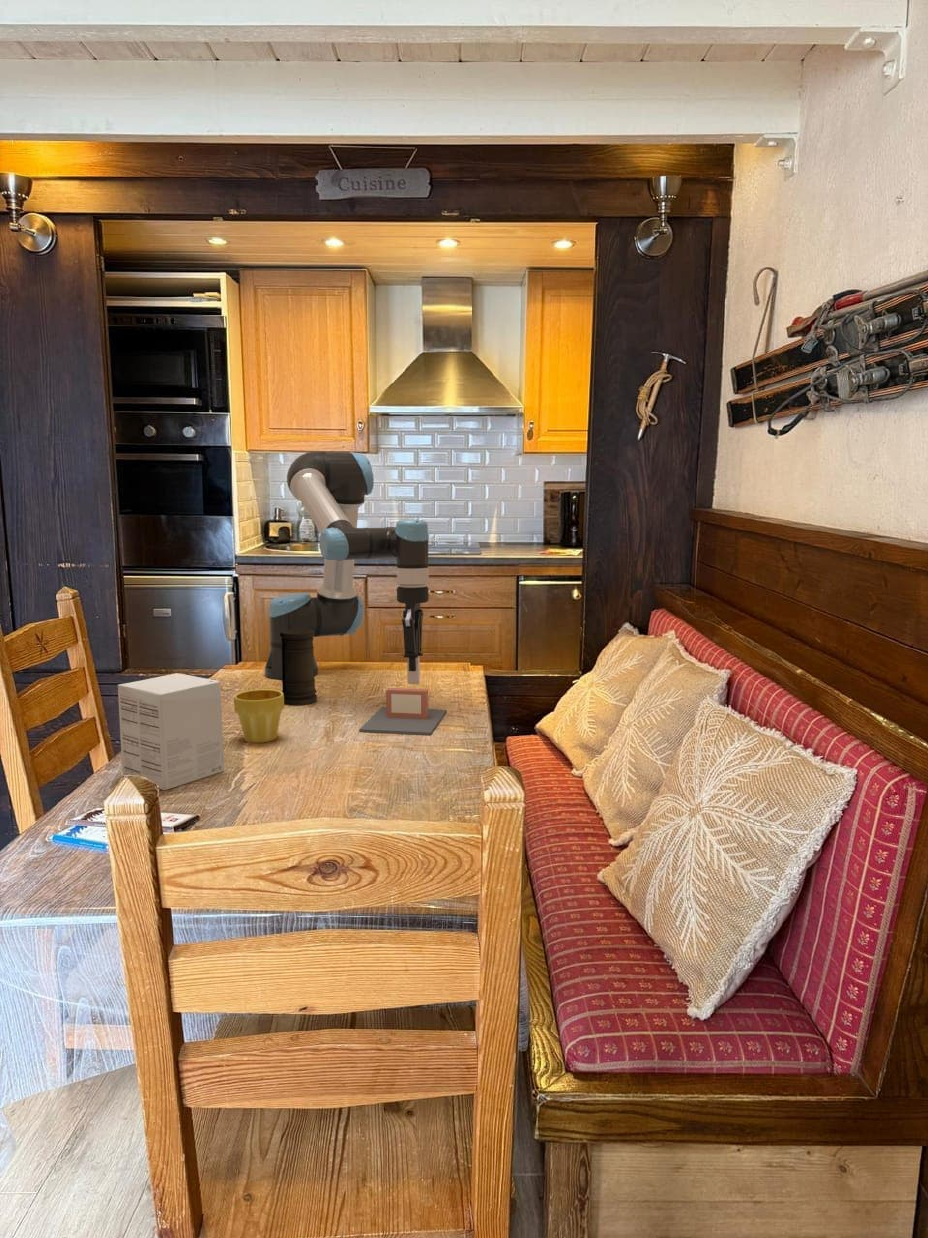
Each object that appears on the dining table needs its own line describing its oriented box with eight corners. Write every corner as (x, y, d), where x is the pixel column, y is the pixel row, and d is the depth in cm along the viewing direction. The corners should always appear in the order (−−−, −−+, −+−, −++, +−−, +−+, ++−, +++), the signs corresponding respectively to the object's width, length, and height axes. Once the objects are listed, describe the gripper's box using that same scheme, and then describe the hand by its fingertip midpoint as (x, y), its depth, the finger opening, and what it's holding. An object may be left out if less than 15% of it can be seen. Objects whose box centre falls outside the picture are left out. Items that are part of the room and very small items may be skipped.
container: (321, 697, 215) (319, 628, 213) (311, 706, 206) (309, 634, 204) (287, 696, 216) (285, 628, 214) (276, 705, 207) (274, 633, 205)
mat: (381, 709, 204) (381, 707, 203) (446, 712, 201) (446, 709, 201) (359, 731, 184) (359, 729, 184) (430, 735, 182) (430, 732, 181)
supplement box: (181, 759, 165) (177, 672, 162) (225, 771, 157) (222, 680, 155) (120, 777, 154) (115, 684, 151) (164, 791, 146) (159, 694, 144)
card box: (388, 714, 196) (388, 687, 195) (428, 716, 195) (428, 689, 194) (386, 717, 194) (386, 689, 193) (426, 719, 192) (426, 691, 192)
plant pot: (229, 745, 173) (227, 699, 172) (242, 732, 184) (241, 688, 182) (278, 746, 173) (277, 700, 172) (289, 732, 184) (288, 688, 182)
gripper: (403, 582, 204) (404, 677, 207) (390, 588, 191) (391, 689, 194) (433, 583, 203) (434, 678, 206) (422, 588, 190) (423, 690, 193)
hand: (413, 683), depth 200 cm, fingers closed
